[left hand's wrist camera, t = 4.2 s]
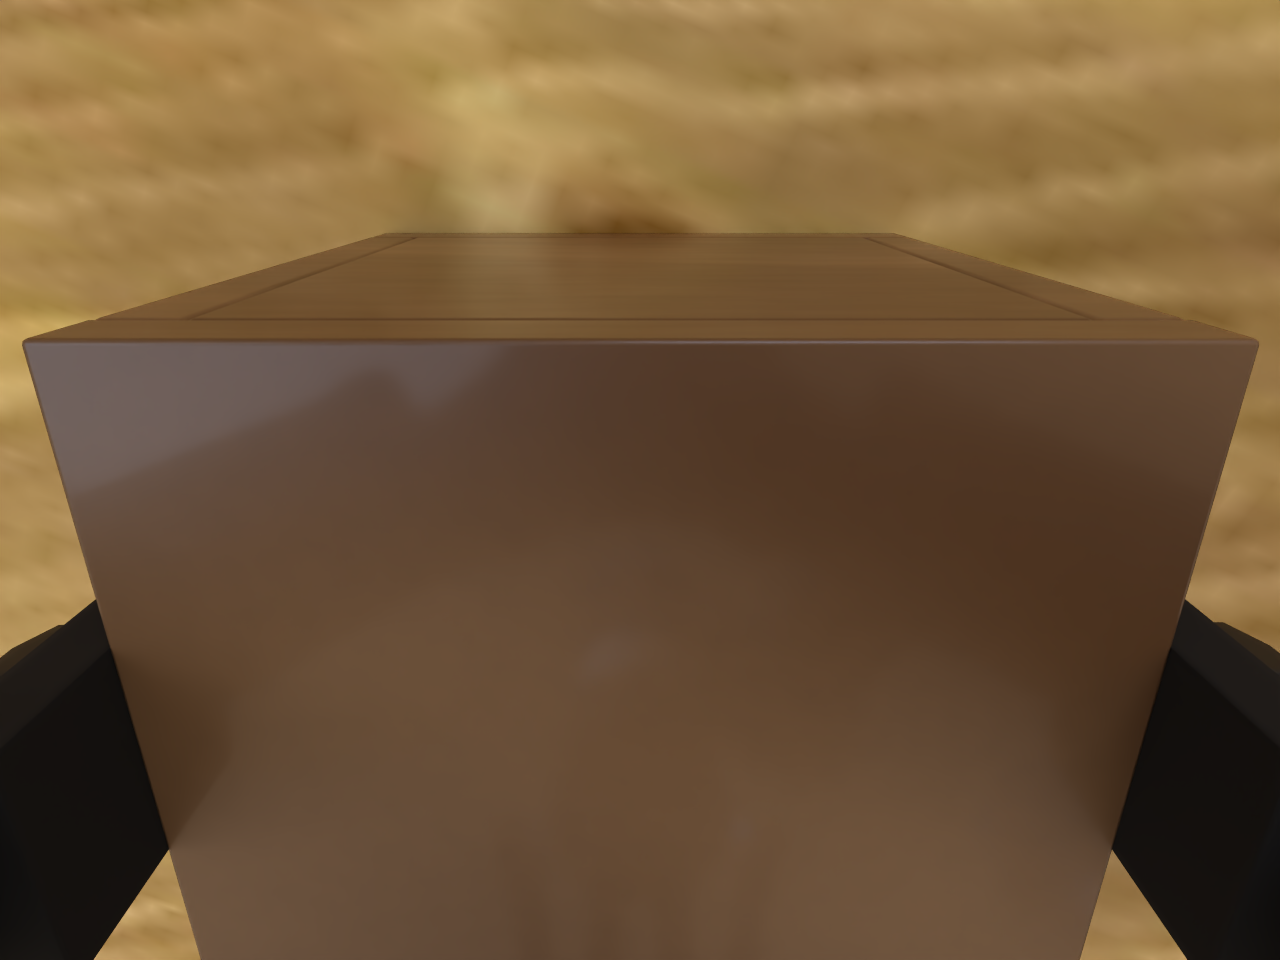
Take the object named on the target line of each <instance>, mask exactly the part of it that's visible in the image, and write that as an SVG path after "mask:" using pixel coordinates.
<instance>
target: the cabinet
mask: <svg viewBox="0 0 1280 960" xmlns="http://www.w3.org/2000/svg"><path fill="white" fill-rule="evenodd" d="M22 346H23V350H24V353H25V357H26V360H27V364H28V367H29V370H30V374H31V377H32V381H33V384H34V388H35V391H36V395H37V398H38V401H39V405H40V408H41V412H42V415H43V419H44V422H45V425H46V429H47V432H48V436H49V439H50V443H51V446H52V449H53V453H54V456H55V460H56V463H57V467H58V470H59V474H60V477H61V480H62V484H63V487H64V491H65V494H66V498H67V501H68V504H69V508H70V511H71V515H72V518H73V522H74V525H75V528H76V532H77V535H78V539H79V542H80V546H81V549H82V553H83V556H84V559H85V563H86V566H87V570H88V573H89V577H90V580H91V583H92V587H93V590H94V594H95V597H96V601H97V604H98V607H99V611H100V614H101V618H102V621H103V625H104V628H105V632H106V635H107V638H108V642H109V645H110V649H111V652H112V656H113V659H114V662H115V666H116V669H117V673H118V676H119V680H120V683H121V686H122V690H123V693H124V697H125V700H126V704H127V707H128V711H129V714H130V717H131V721H132V724H133V728H134V731H135V735H136V738H137V741H138V745H139V748H140V752H141V755H142V759H143V762H144V765H145V769H146V772H147V776H148V779H149V783H150V786H151V789H152V793H153V796H154V800H155V803H156V807H157V810H158V814H159V817H160V820H161V824H162V827H163V831H164V834H165V838H166V841H167V844H168V848H169V851H170V855H171V858H172V862H173V865H174V868H175V872H176V875H177V879H178V882H179V886H180V889H181V893H182V896H183V899H184V903H185V906H186V910H187V913H188V917H189V920H190V923H191V927H192V930H193V934H194V937H195V941H196V944H197V947H198V951H199V954H200V958H201V960H1080V957H1081V953H1082V950H1083V946H1084V943H1085V940H1086V936H1087V933H1088V929H1089V926H1090V922H1091V919H1092V916H1093V912H1094V909H1095V905H1096V902H1097V898H1098V895H1099V892H1100V888H1101V885H1102V881H1103V878H1104V874H1105V871H1106V868H1107V864H1108V861H1109V857H1110V854H1111V850H1112V847H1113V844H1114V840H1115V837H1116V833H1117V830H1118V827H1119V823H1120V820H1121V816H1122V813H1123V809H1124V806H1125V803H1126V799H1127V796H1128V792H1129V789H1130V785H1131V782H1132V779H1133V775H1134V772H1135V768H1136V765H1137V761H1138V758H1139V755H1140V751H1141V748H1142V744H1143V741H1144V737H1145V734H1146V731H1147V727H1148V724H1149V720H1150V717H1151V713H1152V710H1153V707H1154V703H1155V700H1156V696H1157V693H1158V689H1159V686H1160V683H1161V679H1162V676H1163V672H1164V669H1165V666H1166V662H1167V659H1168V655H1169V652H1170V648H1171V645H1172V642H1173V638H1174V635H1175V631H1176V628H1177V624H1178V621H1179V618H1180V614H1181V611H1182V607H1183V604H1184V600H1185V597H1186V594H1187V590H1188V587H1189V583H1190V580H1191V576H1192V573H1193V570H1194V566H1195V563H1196V559H1197V556H1198V552H1199V549H1200V546H1201V542H1202V539H1203V535H1204V532H1205V529H1206V525H1207V522H1208V518H1209V515H1210V511H1211V508H1212V505H1213V501H1214V498H1215V494H1216V491H1217V487H1218V484H1219V481H1220V477H1221V474H1222V470H1223V467H1224V463H1225V460H1226V457H1227V453H1228V450H1229V446H1230V443H1231V439H1232V436H1233V433H1234V429H1235V426H1236V422H1237V419H1238V415H1239V412H1240V409H1241V405H1242V402H1243V398H1244V395H1245V391H1246V388H1247V385H1248V381H1249V378H1250V374H1251V371H1252V368H1253V364H1254V361H1255V357H1256V354H1257V350H1258V347H1259V342H1258V341H1257V340H1256V339H1254V338H1251V337H1247V336H1244V335H1241V334H1237V333H1234V332H1230V331H1227V330H1224V329H1220V328H1217V327H1213V326H1210V325H1207V324H1203V323H1200V322H1196V321H1193V320H1183V319H1181V318H1179V317H1175V316H1172V315H1169V314H1165V313H1162V312H1158V311H1155V310H1152V309H1148V308H1145V307H1141V306H1138V305H1135V304H1131V303H1128V302H1125V301H1121V300H1118V299H1114V298H1111V297H1108V296H1104V295H1101V294H1097V293H1094V292H1091V291H1087V290H1084V289H1081V288H1077V287H1074V286H1070V285H1067V284H1064V283H1060V282H1057V281H1053V280H1050V279H1047V278H1043V277H1040V276H1036V275H1033V274H1030V273H1026V272H1023V271H1020V270H1016V269H1013V268H1009V267H1006V266H1003V265H999V264H996V263H992V262H989V261H986V260H982V259H979V258H976V257H972V256H969V255H965V254H962V253H959V252H955V251H952V250H948V249H945V248H942V247H938V246H935V245H932V244H928V243H925V242H921V241H918V240H915V239H911V238H907V237H904V236H901V235H898V234H382V235H379V236H376V237H373V238H368V239H365V240H362V241H358V242H355V243H351V244H348V245H345V246H341V247H338V248H334V249H331V250H328V251H324V252H321V253H318V254H314V255H311V256H307V257H304V258H301V259H297V260H294V261H290V262H287V263H284V264H280V265H277V266H274V267H270V268H267V269H263V270H260V271H257V272H253V273H250V274H246V275H243V276H240V277H236V278H233V279H230V280H226V281H223V282H219V283H216V284H213V285H209V286H206V287H203V288H199V289H196V290H192V291H189V292H186V293H182V294H179V295H175V296H172V297H169V298H165V299H162V300H159V301H155V302H152V303H148V304H145V305H142V306H138V307H135V308H131V309H128V310H125V311H121V312H118V313H115V314H111V315H108V316H104V317H101V318H99V319H97V320H88V321H85V322H81V323H78V324H74V325H71V326H68V327H64V328H61V329H57V330H54V331H51V332H47V333H44V334H40V335H37V336H34V337H30V338H27V339H25V340H24V341H23V343H22Z"/></svg>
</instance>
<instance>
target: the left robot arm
mask: <svg viewBox="0 0 1280 960" xmlns="http://www.w3.org/2000/svg"><path fill="white" fill-rule="evenodd" d="M168 850H169V848H168V844H167V841H166V838H165V834H164V831H163V827H162V824H161V820H160V817H159V814H158V810H157V807H156V803H155V800H154V796H153V793H152V789H151V786H150V783H149V779H148V776H147V772H146V769H145V765H144V762H143V759H142V755H141V752H140V748H139V745H138V741H137V738H136V735H135V731H134V728H133V724H132V721H131V717H130V714H129V711H128V707H127V704H126V700H125V697H124V693H123V690H122V686H121V683H120V680H119V676H118V673H117V669H116V666H115V662H114V659H113V656H112V652H111V649H110V645H109V642H108V638H107V635H106V632H105V628H104V625H103V621H102V618H101V614H100V611H99V607H98V604H97V601H96V600H94V601H93V602H92V603H91V604H89V605H88V606H87V607H86V608H85V609H83V610H82V611H81V612H80V613H78V614H77V615H76V616H75V617H73V618H72V619H71V620H70V621H68V622H67V623H66V624H65V625H58V626H56V627H54V628H52V629H50V630H48V631H46V632H44V633H42V634H40V635H38V636H36V637H34V638H32V639H30V640H28V641H26V642H24V643H22V644H20V645H18V646H16V647H14V648H12V649H11V650H10V651H8V652H7V653H6V654H5V655H3V656H2V657H1V658H0V960H94V958H95V957H96V955H97V954H98V952H99V951H100V949H101V948H102V946H103V945H104V943H105V942H106V940H107V939H108V938H109V936H110V935H111V933H112V932H113V930H114V929H115V927H116V926H117V924H118V923H119V921H120V920H121V919H122V917H123V916H124V914H125V913H126V911H127V910H128V908H129V907H130V905H131V904H132V902H133V901H134V900H135V898H136V897H137V895H138V894H139V892H140V891H141V889H142V888H143V886H144V885H145V883H146V882H147V880H148V879H149V878H150V876H151V875H152V873H153V872H154V870H155V869H156V867H157V866H158V864H159V863H160V861H161V860H162V859H163V857H164V856H165V854H166V853H167V851H168ZM1112 850H1113V851H1114V853H1115V854H1116V856H1117V857H1118V859H1119V860H1120V862H1121V863H1122V865H1123V866H1124V867H1125V869H1126V870H1127V872H1128V873H1129V875H1130V876H1131V878H1132V879H1133V881H1134V882H1135V884H1136V885H1137V887H1138V888H1139V889H1140V891H1141V892H1142V894H1143V895H1144V897H1145V898H1146V900H1147V901H1148V903H1149V904H1150V906H1151V907H1152V908H1153V910H1154V911H1155V913H1156V914H1157V916H1158V917H1159V919H1160V920H1161V922H1162V923H1163V925H1164V926H1165V927H1166V929H1167V930H1168V932H1169V933H1170V935H1171V936H1172V938H1173V939H1174V941H1175V942H1176V944H1177V945H1178V947H1179V948H1180V949H1181V951H1182V952H1183V954H1184V955H1185V957H1186V958H1187V960H1280V653H1279V652H1277V651H1276V650H1275V649H1274V648H1272V647H1271V646H1270V645H1268V644H1266V643H1264V642H1262V641H1260V640H1258V639H1256V638H1254V637H1252V636H1250V635H1247V634H1245V633H1243V632H1241V631H1239V630H1237V629H1235V628H1233V627H1231V626H1229V625H1227V624H1225V623H1223V622H1213V621H1211V620H1210V619H1209V618H1208V617H1206V616H1205V615H1204V614H1203V613H1201V612H1200V611H1199V610H1198V609H1196V608H1195V607H1194V606H1193V605H1191V604H1190V603H1189V602H1188V601H1187V600H1184V604H1183V607H1182V611H1181V614H1180V618H1179V621H1178V624H1177V628H1176V631H1175V635H1174V638H1173V642H1172V645H1171V648H1170V652H1169V655H1168V659H1167V662H1166V666H1165V669H1164V672H1163V676H1162V679H1161V683H1160V686H1159V689H1158V693H1157V696H1156V700H1155V703H1154V707H1153V710H1152V713H1151V717H1150V720H1149V724H1148V727H1147V731H1146V734H1145V737H1144V741H1143V744H1142V748H1141V751H1140V755H1139V758H1138V761H1137V765H1136V768H1135V772H1134V775H1133V779H1132V782H1131V785H1130V789H1129V792H1128V796H1127V799H1126V803H1125V806H1124V809H1123V813H1122V816H1121V820H1120V823H1119V827H1118V830H1117V833H1116V837H1115V840H1114V844H1113V847H1112Z"/></svg>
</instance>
